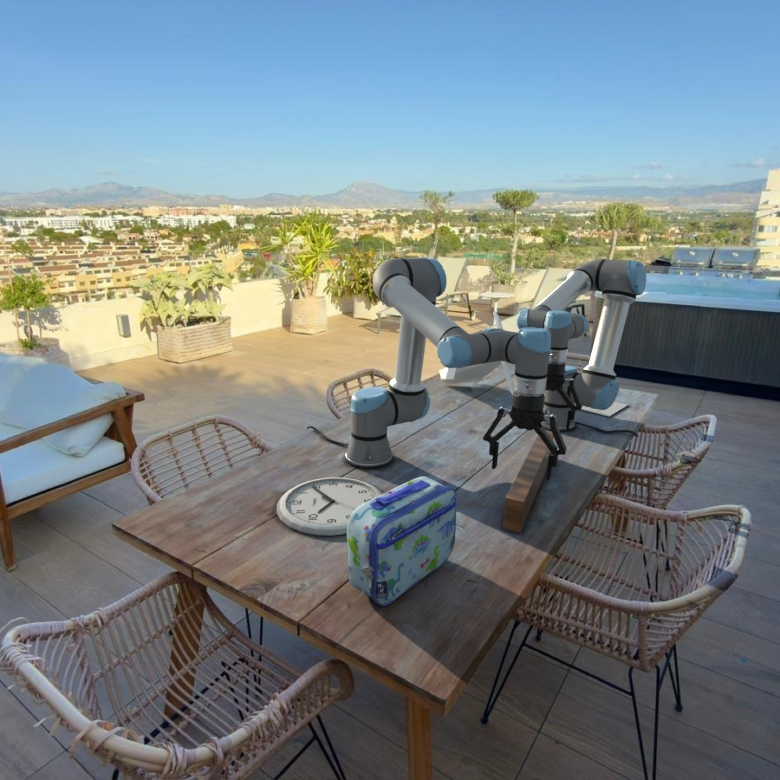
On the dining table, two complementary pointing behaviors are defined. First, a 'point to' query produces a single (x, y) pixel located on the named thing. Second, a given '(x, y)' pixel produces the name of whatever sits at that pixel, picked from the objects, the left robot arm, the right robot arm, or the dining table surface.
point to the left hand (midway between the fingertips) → (520, 472)
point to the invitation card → (608, 412)
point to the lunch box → (400, 538)
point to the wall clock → (324, 504)
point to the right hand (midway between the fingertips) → (545, 425)
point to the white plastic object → (476, 369)
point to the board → (526, 486)
